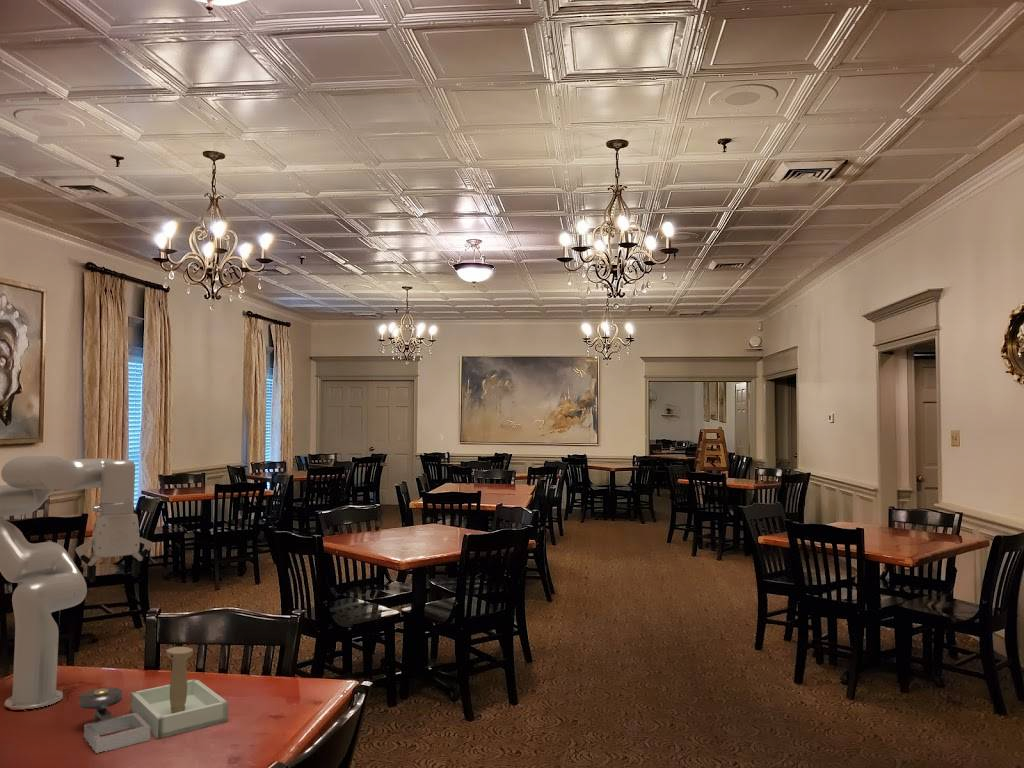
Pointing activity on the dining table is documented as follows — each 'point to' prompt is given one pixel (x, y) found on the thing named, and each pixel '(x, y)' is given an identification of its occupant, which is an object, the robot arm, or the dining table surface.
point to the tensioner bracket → (111, 722)
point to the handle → (178, 677)
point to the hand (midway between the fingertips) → (113, 578)
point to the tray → (198, 711)
